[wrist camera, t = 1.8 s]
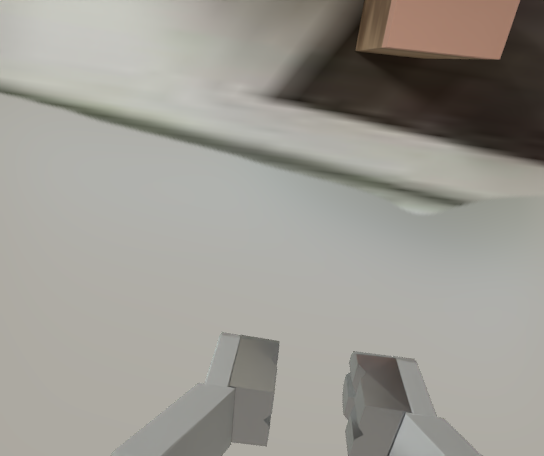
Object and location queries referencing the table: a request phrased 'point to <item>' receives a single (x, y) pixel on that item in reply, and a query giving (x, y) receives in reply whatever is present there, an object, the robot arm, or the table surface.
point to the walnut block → (436, 28)
